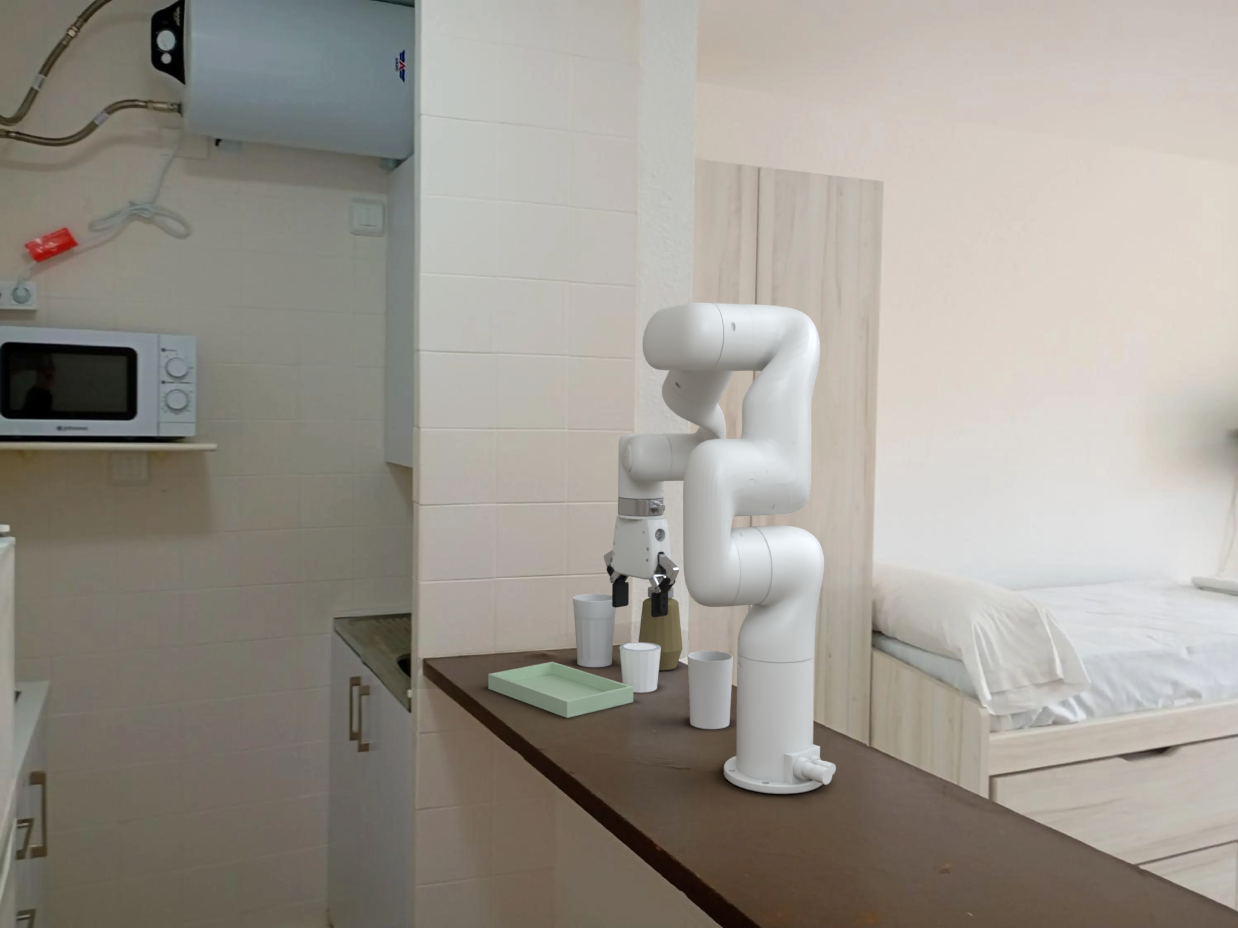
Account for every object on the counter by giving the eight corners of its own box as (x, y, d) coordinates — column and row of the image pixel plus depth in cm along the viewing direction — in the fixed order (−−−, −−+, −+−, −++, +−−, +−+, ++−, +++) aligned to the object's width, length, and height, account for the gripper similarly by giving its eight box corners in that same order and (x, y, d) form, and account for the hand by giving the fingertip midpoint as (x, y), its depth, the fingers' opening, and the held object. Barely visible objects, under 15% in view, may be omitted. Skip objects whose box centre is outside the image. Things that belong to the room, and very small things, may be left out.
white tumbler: (740, 727, 150) (741, 659, 149) (698, 731, 148) (699, 662, 147) (720, 714, 156) (720, 649, 156) (680, 718, 154) (680, 652, 153)
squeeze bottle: (653, 659, 191) (654, 562, 190) (691, 666, 186) (692, 566, 185) (628, 668, 184) (629, 568, 183) (666, 675, 179) (667, 572, 178)
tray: (633, 702, 163) (633, 686, 163) (567, 718, 154) (567, 701, 154) (552, 675, 179) (552, 661, 179) (488, 688, 170) (488, 673, 170)
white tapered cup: (661, 693, 168) (661, 650, 167) (618, 693, 168) (619, 650, 167) (660, 682, 174) (660, 641, 174) (619, 682, 175) (619, 641, 174)
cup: (618, 658, 192) (618, 594, 191) (613, 668, 184) (614, 602, 183) (575, 657, 192) (576, 593, 192) (569, 667, 184) (569, 600, 184)
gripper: (694, 511, 166) (692, 617, 167) (623, 502, 179) (622, 600, 180) (659, 514, 161) (658, 623, 162) (589, 505, 174) (588, 605, 175)
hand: (639, 611), depth 171 cm, fingers open, 9 cm apart
